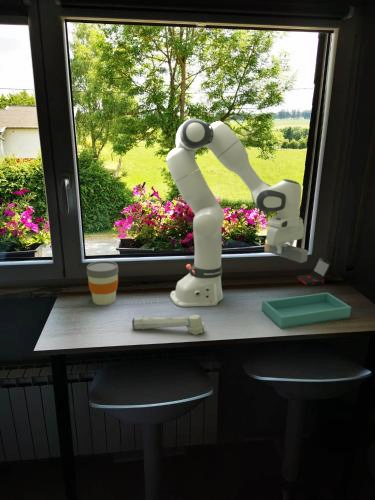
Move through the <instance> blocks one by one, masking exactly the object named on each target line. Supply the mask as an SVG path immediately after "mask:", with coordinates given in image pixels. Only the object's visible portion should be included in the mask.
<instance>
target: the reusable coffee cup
mask: <svg viewBox="0 0 375 500" xmlns="http://www.w3.org/2000/svg"><path fill="white" fill-rule="evenodd" d="M119 272H120V271H119V265H118V264H117V263H116V262H114V261H112V260H111V261H110V260H100V261H95V262H90V263H88V265H86V275H87V278H88V279H87V282H88V288H89V292H90V293H91V298H92V301H93V303H94V304H95V305H99V306H107V305H110V304H113V303H115V301H116V296H117V290H118V284H119V275H118V274H119Z"/></svg>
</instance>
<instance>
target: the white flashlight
mask: <svg viewBox="0 0 375 500" xmlns="http://www.w3.org/2000/svg"><path fill="white" fill-rule="evenodd" d="M131 326H132V329H133V330H142V331H145V330H147V329H160V328H161V329H162V328H163V329H164V328H177V327H186V329H187V332H188V333H189V334H190V333H191V334H193V336H194V335H195V336H196V335H199V334H203V333H204V332H205V326H206V325H205V322H204V321H203V320H202V318H201V316H200V315H199V314H191V315H189V316H183V317H181V316H179V317H178V316H177V317H176V316H175V317H174V316H171V317H170V316H169V317H167V316H166V317H164V316H163V317H162V316H161V317H159V316H158V317H153V316H152V317H144V316H142V317H133V318H132V321H131ZM191 334H190V335H191Z"/></svg>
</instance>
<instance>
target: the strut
mask: <svg viewBox="0 0 375 500" xmlns="http://www.w3.org/2000/svg"><path fill="white" fill-rule="evenodd" d="M281 247H282V249H283V253H281V254H279V253H277V250H278V249H277V247H276V245H275V246H272V245H269V244H267V242H266V238H265V241H264V252H265V253H270V254H272V255H276V256H279V257H281V258H285V259H287V260H290V261H294V262H297V263H299V264H302V263H305V262H307V261H308V255H309V250H307V249H304V248H301V247H299V246H298V247H297V246H293V245H292V246H291V245H288V243H283V244H282V246H281Z"/></svg>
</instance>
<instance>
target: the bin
mask: <svg viewBox="0 0 375 500" xmlns="http://www.w3.org/2000/svg"><path fill="white" fill-rule="evenodd" d="M261 312H262V313H263V314H264V316H266V317H267V318H268V319H269V320H270V321H271V322H272V323H273V324H275V325H276V327H278V328H279V329H280V330H283V329H289V328H294V327H302V326H307V325H312V324H319V323H320V324H321V323H325V322H326V323H327V322H332V321H333V322H334V321H337V320H345V319H349V318H350V317H351V313H352V306H351V305H348V304H347V303H345V302H343V300H341V299H339V298H337V297H336V296H334V295H332V293H330V292H328V291H327V292H321V293H320V292H319V293H312V294H307V295H298V296H290V297H289V296H288V297H283V298H276V299H275V298H274V299H267V300H263V301H262V304H261Z"/></svg>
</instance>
